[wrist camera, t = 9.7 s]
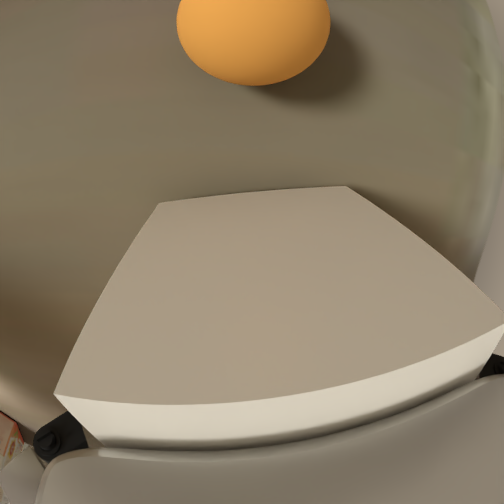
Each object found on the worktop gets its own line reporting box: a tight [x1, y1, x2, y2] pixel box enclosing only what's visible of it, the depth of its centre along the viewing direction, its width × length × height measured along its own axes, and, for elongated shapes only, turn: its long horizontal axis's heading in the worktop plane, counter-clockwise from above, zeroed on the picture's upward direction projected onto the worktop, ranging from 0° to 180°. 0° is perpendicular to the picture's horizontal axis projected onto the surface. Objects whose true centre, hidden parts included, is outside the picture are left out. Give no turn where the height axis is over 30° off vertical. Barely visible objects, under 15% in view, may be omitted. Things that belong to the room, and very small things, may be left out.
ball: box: [177, 0, 330, 86], centre depth 7 cm, size 5×5×5 cm
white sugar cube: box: [53, 186, 504, 451], centre depth 9 cm, size 8×8×9 cm
